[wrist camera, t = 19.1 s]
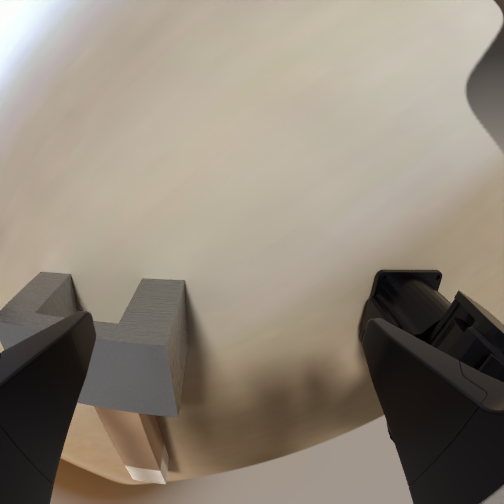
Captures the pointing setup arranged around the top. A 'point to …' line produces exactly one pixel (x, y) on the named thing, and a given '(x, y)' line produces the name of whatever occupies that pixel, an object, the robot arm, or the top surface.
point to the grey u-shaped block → (115, 342)
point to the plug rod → (137, 443)
